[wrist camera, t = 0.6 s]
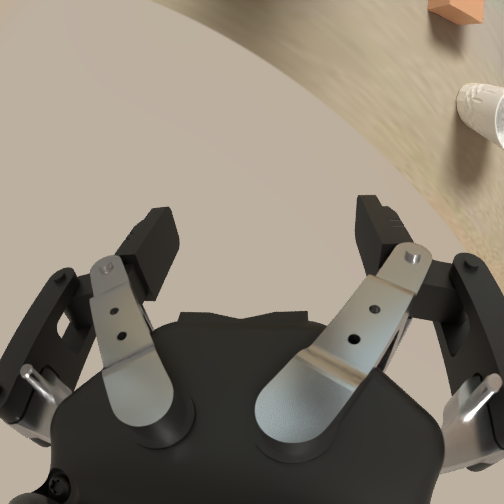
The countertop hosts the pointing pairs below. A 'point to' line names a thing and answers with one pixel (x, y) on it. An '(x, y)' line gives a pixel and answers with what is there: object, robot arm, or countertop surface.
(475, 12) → the terracotta block
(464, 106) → the white cup
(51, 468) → the robot arm
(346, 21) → the countertop surface
